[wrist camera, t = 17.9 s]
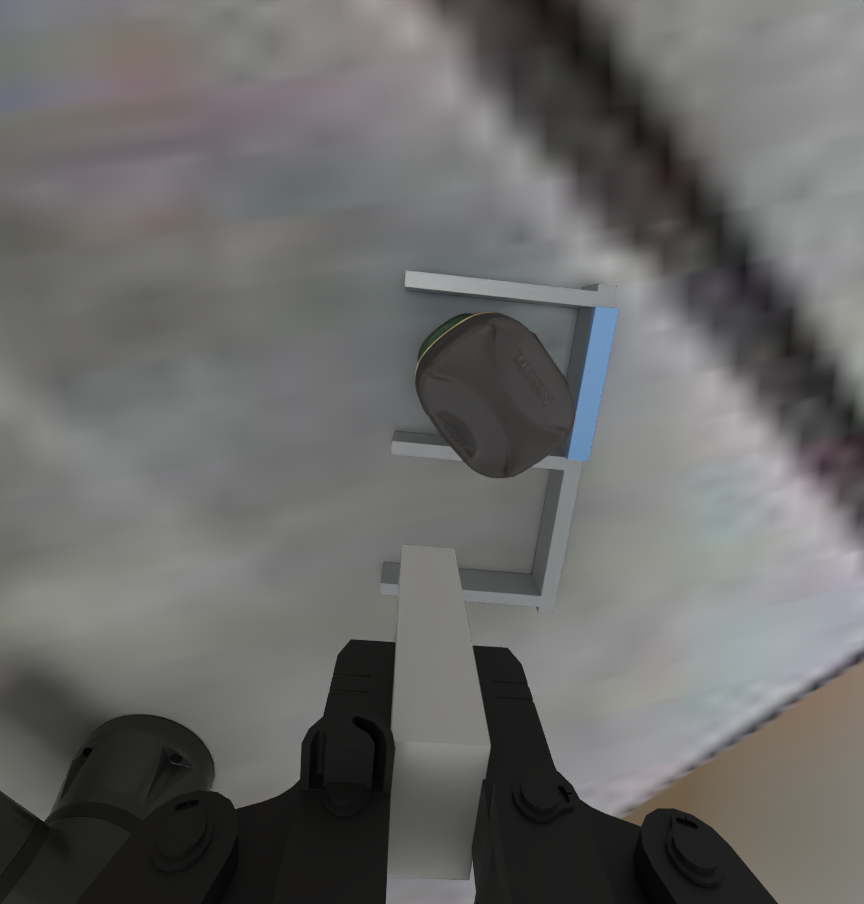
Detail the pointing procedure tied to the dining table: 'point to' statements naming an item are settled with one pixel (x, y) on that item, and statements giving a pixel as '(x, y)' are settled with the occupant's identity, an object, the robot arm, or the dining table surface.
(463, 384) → the coffee jar
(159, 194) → the dining table surface
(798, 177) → the dining table surface
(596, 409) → the divided storage rack
